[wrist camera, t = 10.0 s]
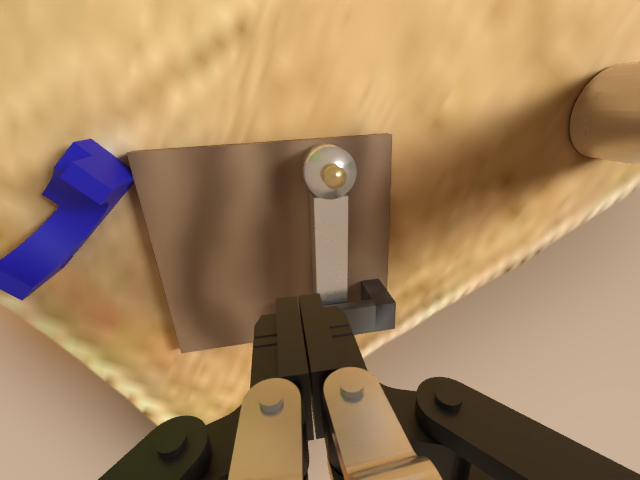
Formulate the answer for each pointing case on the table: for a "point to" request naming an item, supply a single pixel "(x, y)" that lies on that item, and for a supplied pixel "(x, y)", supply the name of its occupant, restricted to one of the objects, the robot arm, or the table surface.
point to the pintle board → (258, 233)
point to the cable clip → (67, 215)
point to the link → (329, 218)
